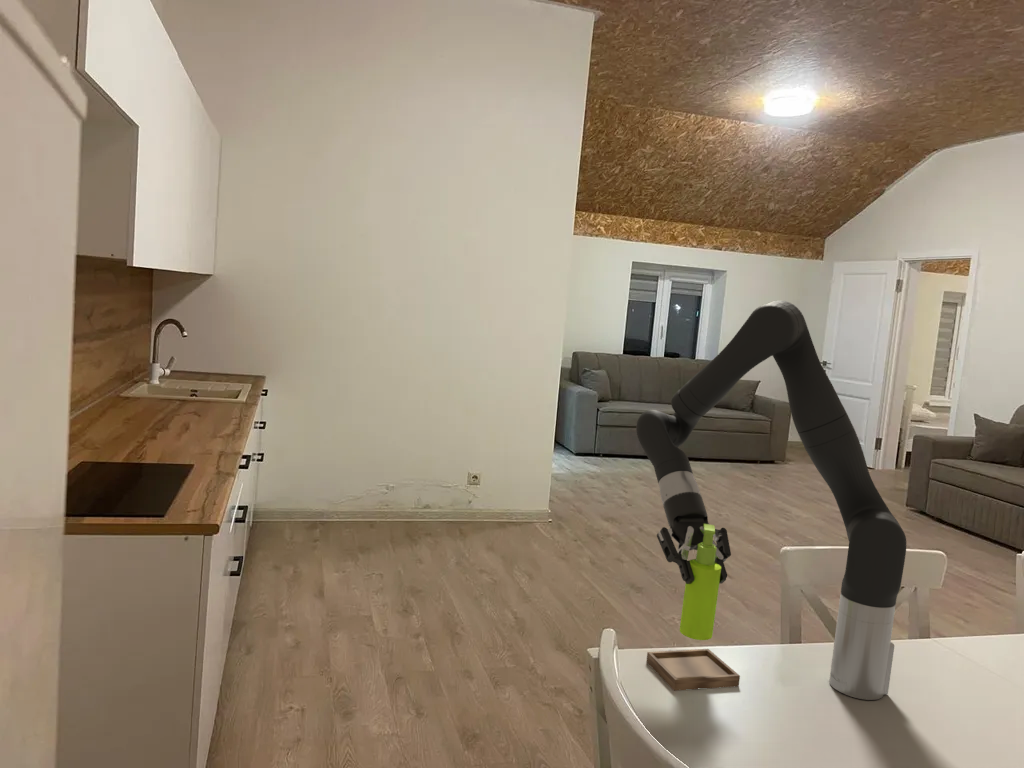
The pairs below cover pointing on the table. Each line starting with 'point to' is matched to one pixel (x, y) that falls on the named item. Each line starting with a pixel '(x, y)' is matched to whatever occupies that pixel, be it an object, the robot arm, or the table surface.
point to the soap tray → (692, 669)
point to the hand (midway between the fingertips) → (706, 581)
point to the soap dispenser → (701, 590)
